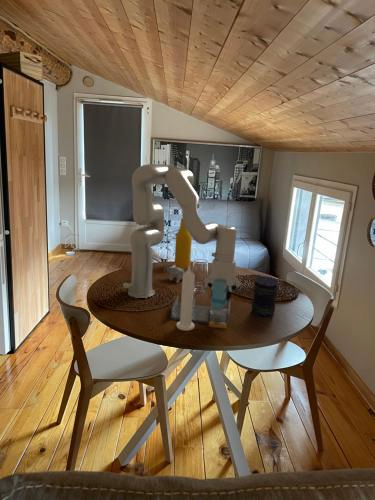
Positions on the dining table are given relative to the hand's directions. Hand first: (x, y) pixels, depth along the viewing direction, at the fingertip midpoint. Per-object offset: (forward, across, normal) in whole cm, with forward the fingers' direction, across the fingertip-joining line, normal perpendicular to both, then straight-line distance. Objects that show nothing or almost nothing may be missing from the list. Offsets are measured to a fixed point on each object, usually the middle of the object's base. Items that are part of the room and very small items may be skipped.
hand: (220, 298), depth 148 cm
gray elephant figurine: (+9, -27, +38) cm, 47 cm away
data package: (+3, 0, 0) cm, 3 cm away
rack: (+8, -8, -1) cm, 11 cm away
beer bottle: (+9, -26, +61) cm, 67 cm away
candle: (+9, -12, -12) cm, 19 cm away
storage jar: (+9, +18, +9) cm, 22 cm away
